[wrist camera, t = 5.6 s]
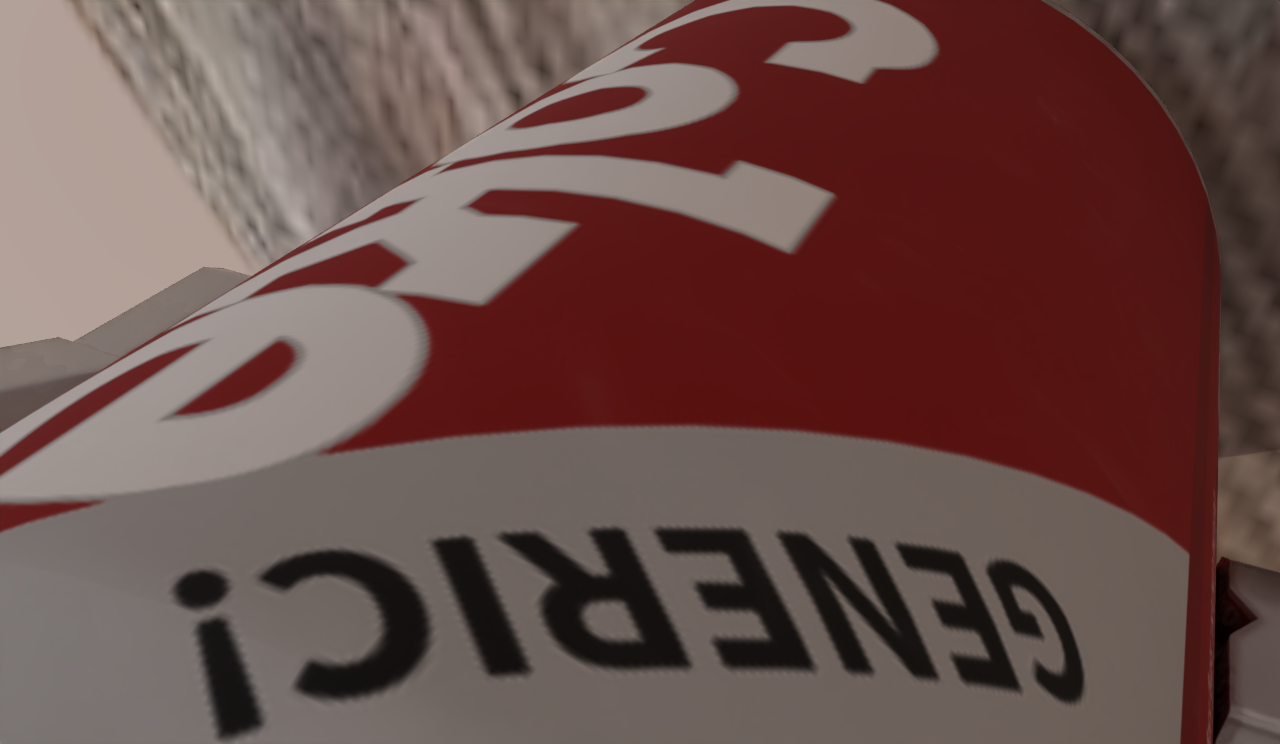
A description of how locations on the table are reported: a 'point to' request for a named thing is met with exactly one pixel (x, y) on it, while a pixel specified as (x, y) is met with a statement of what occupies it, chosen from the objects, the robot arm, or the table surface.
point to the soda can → (675, 423)
